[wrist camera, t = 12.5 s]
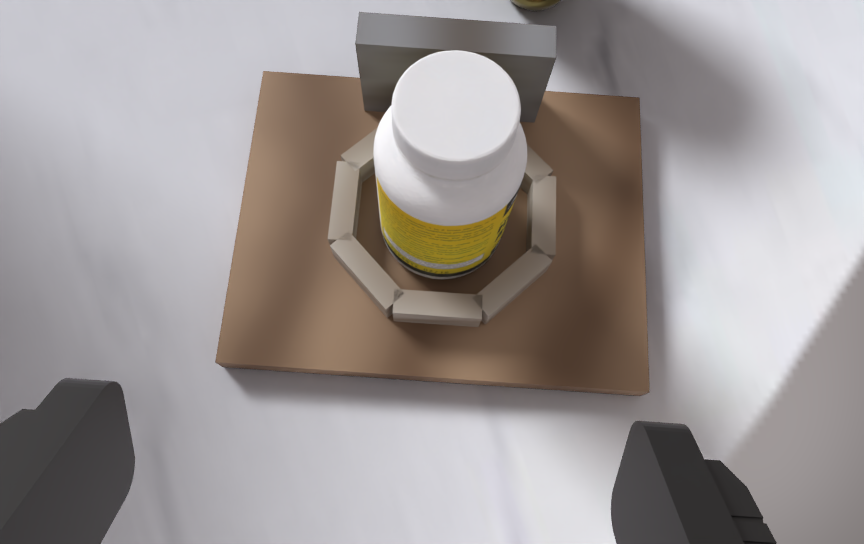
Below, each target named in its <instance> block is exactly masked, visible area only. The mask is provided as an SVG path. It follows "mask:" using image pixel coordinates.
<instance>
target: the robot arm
mask: <svg viewBox="0 0 864 544" xmlns="http://www.w3.org/2000/svg"><path fill="white" fill-rule="evenodd" d="M134 466H135V456H134V449H133V444H132V438H131V433H130V428H129V422H128V417H127V411H126V406H125V400H124V395H123V391H122V388H121V386H120V385H119V383H117V382H114V381H100V380H87V379H73V378H65V379H63V380H61V381H60V382H59V383H58V384H57V385H56V386H55V387H54V388H53V389H52V390H51V392H50V393H49V394H48V395H47V396H46V398H45V399H44V400H43V401H42V403H41V404H40V405H39V406H38V407H37V409H36V410H27V409H22V410H21V411H19V412H18V413H16V414H15V415H13V416H11V417H10V418H8V419H7V420H5V421H4V422H2V423H1V424H0V544H101V542H102V540H103V538H104V536H105V534H106V533H107V531H108V529H109V527H110V525H111V524H112V522H113V520H114V518H115V516H116V515H117V513H118V511H119V509H120V507H121V505H122V504H123V502H124V500H125V498H126V496H127V494H128V492H129V489H130V486H131V483H132V479H133V474H134ZM611 519H612V527H613V532H614V536H615V539H616V543H617V544H776V541H775V539H774V537H773V535H772V534H771V532H770V530H769V528H768V526H767V524H764V523H763V516H762V515H761V513H760V511H759V509H758V507H757V505H756V503H755V501H754V500H753V498H752V496H751V494H750V492H749V490H748V488H747V487H746V486H745V485H744V484H743V483H742V482H741V481H740V480H739V479H738V478H737V477H736V476H735V475H734V474H733V473H732V472H731V471H730V470H729V469H728V468H727V467H726V466H725V465H724V464H723V463H722V462H721V461H718V460H704V458H703V456H702V454H701V452H700V450H699V448H698V446H697V443H696V441H695V439H694V437H693V435H692V433H691V431H690V429H689V428H688V427H687V426H686V425H684V424H673V423H660V422H646V421H636V422H634V423H633V425H632V427H631V429H630V432H629V435H628V439H627V442H626V446H625V449H624V453H623V456H622V460H621V463H620V467H619V470H618V474H617V477H616V481H615V484H614V488H613V492H612V500H611Z"/></svg>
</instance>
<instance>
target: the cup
mask: <svg viewBox="0 0 864 544" xmlns="http://www.w3.org/2000/svg"><path fill="white" fill-rule="evenodd" d="M511 1H512V2H513V3H514V4H516V5H517V6H519V7H521V8H523V9H527V10H532V11H541V10H545V9H549V8H551V7H553V6H555V5H556V4H558V3H559V2H560V1H561V0H511Z"/></svg>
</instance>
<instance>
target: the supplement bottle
mask: <svg viewBox="0 0 864 544" xmlns="http://www.w3.org/2000/svg"><path fill="white" fill-rule="evenodd" d="M520 116H521V104H520V98H519V94H518V91H517V88H516V86H515V84H514V82H513V80H512V79H511V78H510V76H509V75H508V74H507V73H506V72H505V71H504V70H503V69H502V68H501V67H500V66H499V65H498V64H496V63H495V62H494V61H492V60H490V59H488V58H486V57H484V56H482V55H479V54H476V53H473V52H467V51H459V50H453V51H441V52H437V53H433V54H430V55H428V56H426V57H424V58H422V59H420V60H418V61H417V62H415V63H414V64H413V65H411V66H410V67H409V68H408V69H407V70H406V71H405V72H404V73H403V75H402V76H401V78H400V79H399V81H398V83H397V85H396V87H395V90H394V93H393V97H392V105H391V106H390V107H389V109H388V110H387V111H386V113H385V114H384V116H383V117H382V119H381V121H380V123H379V125H378V128H377V131H376V135H375V139H374V151H373V155H374V166H375V175H376V184H377V195H378V204H379V214H380V223H381V230H382V234H383V238H384V241H385V243H386V245H387V247H388V249H389V251H390V252H391V254H392V255H393V256H394V258H395V259H396V260H397V261H398V262H399V263H400V264H401V265H403V266H404V267H405V268H407V269H408V270H410V271H411V272H413V273H415V274H418V275H421V276H424V277H427V278H432V279H453V278H457V277H461V276H464V275H467V274H469V273H471V272H473V271H475V270H477V269H478V268H480V267H481V266H482V265H484V264H485V263H486V262H487V261H488V260H489V258H490V257H491V256H492V255H493V253H494V252H495V250H496V248H497V246H498V244H499V242H500V240H501V238H502V235H503V232H504V229H505V227H506V224H507V221H508V218H509V216H510V213H511V210H512V207H513V205H514V202H515V199H516V196H517V194H518V191H519V189H520V187H521V184H522V180H523V177H524V173H525V169H526V163H527V143H526V138H525V134H524V131H523V128H522V126H521V124H520V122H519V121H520Z"/></svg>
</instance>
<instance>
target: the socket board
mask: <svg viewBox="0 0 864 544" xmlns="http://www.w3.org/2000/svg"><path fill="white" fill-rule="evenodd" d="M355 45H356V52H357V59H358V67H359V74H360V78H354V77H340V76H326V75H312V74H298V73H284V72H269V71H263V77H262V83H261V89H260V95H259V101H258V107H257V113H256V119H255V125H254V131H253V137H252V143H251V149H250V155H249V161H248V167H247V174H246V180H245V186H244V192H243V198H242V204H241V210H240V216H239V222H238V228H237V234H236V240H235V246H234V252H233V258H232V264H231V270H230V276H229V282H228V288H227V295H226V301H225V307H224V313H223V319H222V325H221V331H220V337H219V343H218V349H217V355H216V361H215V362H216V363H217V364H219V365H221V366H222V367H230V368H244V369H259V370H273V371H288V372H302V373H317V374H331V375H346V376H360V377H375V378H389V379H404V380H418V381H433V382H447V383H462V384H476V385H491V386H505V387H520V388H534V389H549V390H563V391H577V392H592V393H606V394H621V395H635V396H641V395H643V394H646V393H649V365H648V336H647V307H646V277H645V248H644V218H643V189H642V159H641V130H640V100H639V98H637V97H623V96H609V95H595V94H581V93H566V92H552V91H545V90H546V87H547V84H548V81H549V78H550V75H551V72H552V69H553V66H554V63H555V60H556V26H548V25H534V24H520V23H506V22H492V21H478V20H464V19H450V18H436V17H422V16H408V15H393V14H379V13H365V12H359V17H358V25H357V34H356V42H355ZM453 50H459V51H467V52H473V53H476V54H479V55H482V56H484V57H486V58H488V59H490V60H492V61H494V62H495V63H496V64H498V65H499V66H500V67H501V68H502V69H503V70H504V71H505V72H506V73H507V74H508V75H509V76H510V78H511V79H512V80H513V82H514V84H515V86H516V88H517V91H518V94H519V98H520V104H521V116H520V121H519V122H520V124H521V126H522V128H523V131H524V134H525V138H526V143H527V163H526V169H525V173H524V177H523V180H522V184H521V187H520V189H519V191H518V194H517V196H516V199H515V202H514V205H513V207H512V210H511V213H510V216H509V218H508V221H507V224H506V227H505V229H504V232H503V235H502V238H501V240H500V242H499V244H498V246H497V248H496V250H495V252H494V253H493V255H492V256H491V257H490V258H489V260H488V261H487V262H486V263H485V264H484V265H482V266H481V267H480V268H478V269H477V270H475V271H473V272H471V273H469V274H467V275H464V276H461V277H457V278H453V279H432V278H427V277H424V276H421V275H418V274H415V273H413V272H411V271H410V270H408V269H407V268H405V267H404V266H403V265H401V264H400V263H399V262H398V261H397V260H396V259H395V258H394V256H393V255H392V254H391V252H390V251H389V249H388V247H387V245H386V243H385V241H384V238H383V234H382V230H381V223H380V214H379V204H378V195H377V184H376V175H375V166H374V155H373V151H374V139H375V135H376V131H377V128H378V125H379V123H380V121H381V119H382V117H383V116H384V114H385V113H386V111H387V110H388V109H389V107H390V106H391V105H392V97H393V93H394V90H395V87H396V85H397V83H398V81H399V79H400V78H401V76H402V75H403V73H404V72H405V71H406V70H407V69H408V68H409V67H410V66H411V65H413V64H414V63H415V62H417V61H418V60H420V59H422V58H424V57H426V56H428V55H430V54H433V53H437V52H441V51H453Z"/></svg>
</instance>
